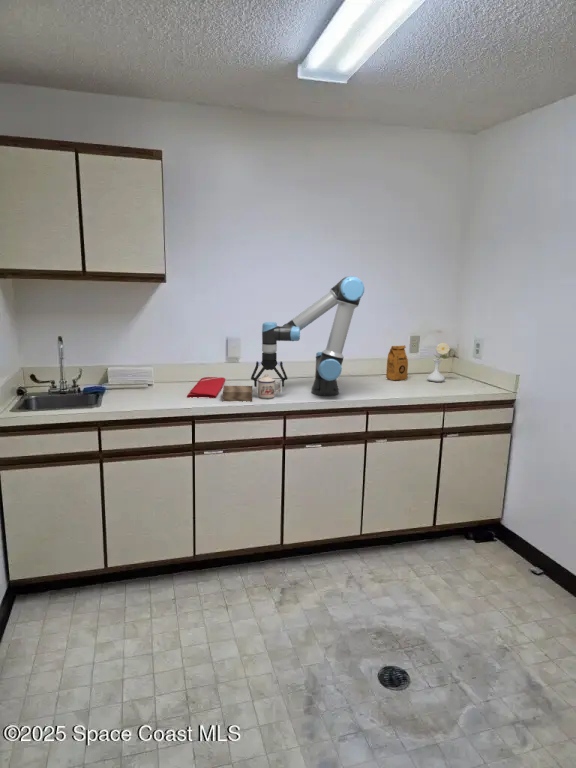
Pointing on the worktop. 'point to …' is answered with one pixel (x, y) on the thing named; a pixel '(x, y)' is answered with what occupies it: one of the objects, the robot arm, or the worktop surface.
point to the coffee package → (397, 363)
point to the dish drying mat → (207, 387)
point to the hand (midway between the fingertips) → (269, 392)
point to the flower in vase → (436, 376)
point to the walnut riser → (237, 393)
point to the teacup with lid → (267, 387)
